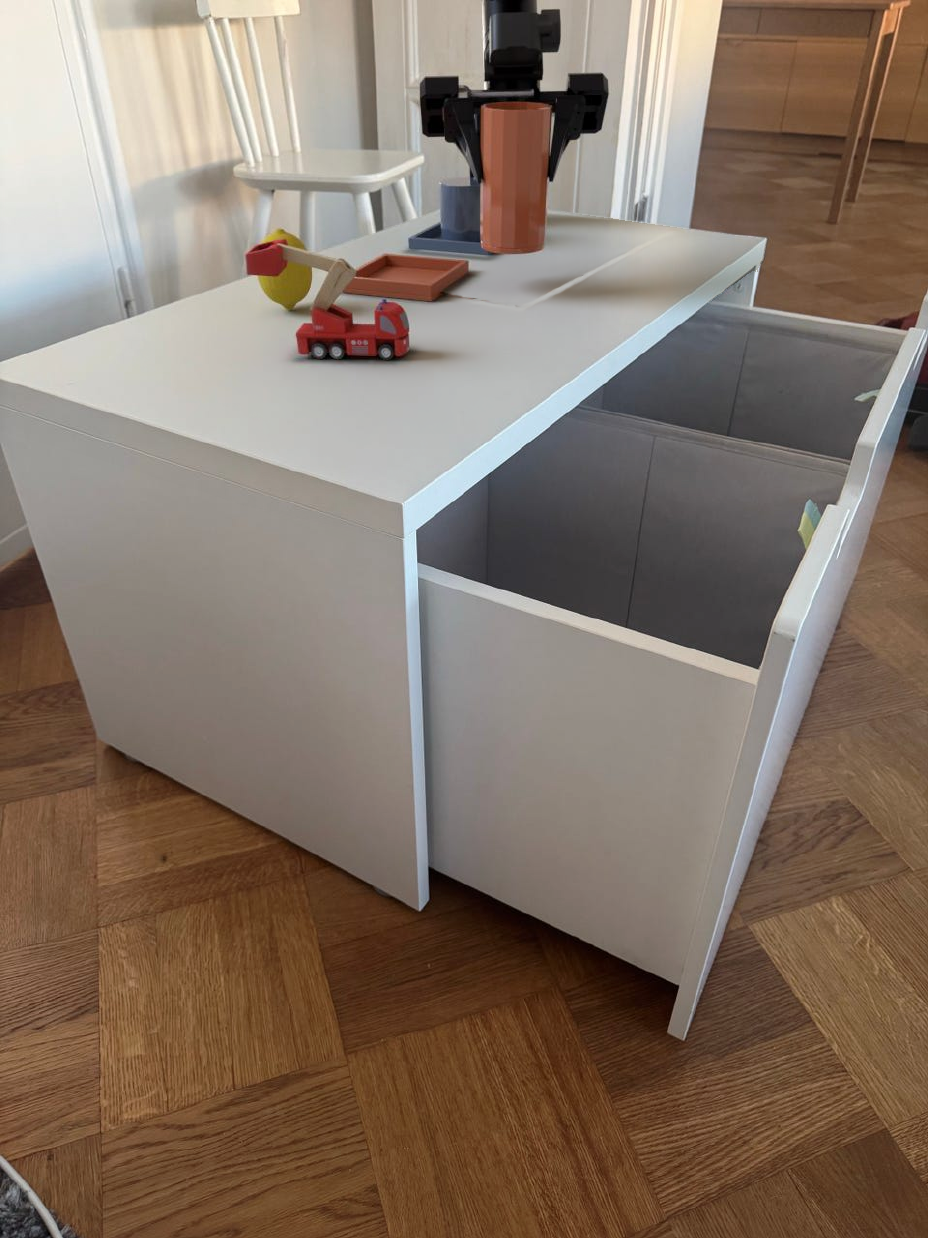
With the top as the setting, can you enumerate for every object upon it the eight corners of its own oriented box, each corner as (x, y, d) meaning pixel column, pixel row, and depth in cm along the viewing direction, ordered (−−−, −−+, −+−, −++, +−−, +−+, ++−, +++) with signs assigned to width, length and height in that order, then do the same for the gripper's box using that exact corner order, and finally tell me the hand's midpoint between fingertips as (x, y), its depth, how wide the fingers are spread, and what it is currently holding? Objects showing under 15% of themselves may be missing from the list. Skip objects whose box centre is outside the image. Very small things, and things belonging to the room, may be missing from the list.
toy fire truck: (407, 361, 82) (401, 247, 76) (258, 358, 83) (242, 247, 78) (413, 348, 85) (407, 238, 79) (268, 346, 86) (253, 237, 80)
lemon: (326, 305, 96) (317, 224, 92) (296, 320, 92) (286, 236, 88) (282, 299, 98) (272, 220, 94) (251, 314, 94) (239, 232, 90)
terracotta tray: (385, 268, 108) (384, 253, 107) (468, 275, 105) (468, 260, 104) (342, 292, 100) (340, 276, 99) (431, 301, 97) (431, 284, 96)
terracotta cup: (502, 235, 100) (505, 99, 93) (556, 243, 97) (564, 104, 90) (468, 248, 96) (468, 106, 88) (524, 257, 93) (529, 111, 85)
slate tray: (443, 233, 122) (443, 219, 121) (518, 239, 119) (518, 225, 118) (408, 252, 114) (408, 237, 113) (488, 259, 111) (488, 244, 110)
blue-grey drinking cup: (458, 233, 120) (456, 175, 116) (497, 239, 117) (497, 179, 113) (431, 243, 116) (429, 183, 112) (471, 249, 113) (471, 187, 109)
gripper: (415, -23, 86) (417, 125, 84) (613, -28, 86) (621, 121, 83) (421, 67, 97) (423, 201, 94) (597, 63, 97) (603, 197, 94)
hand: (515, 179), depth 91 cm, fingers closed on terracotta cup, 7 cm apart
